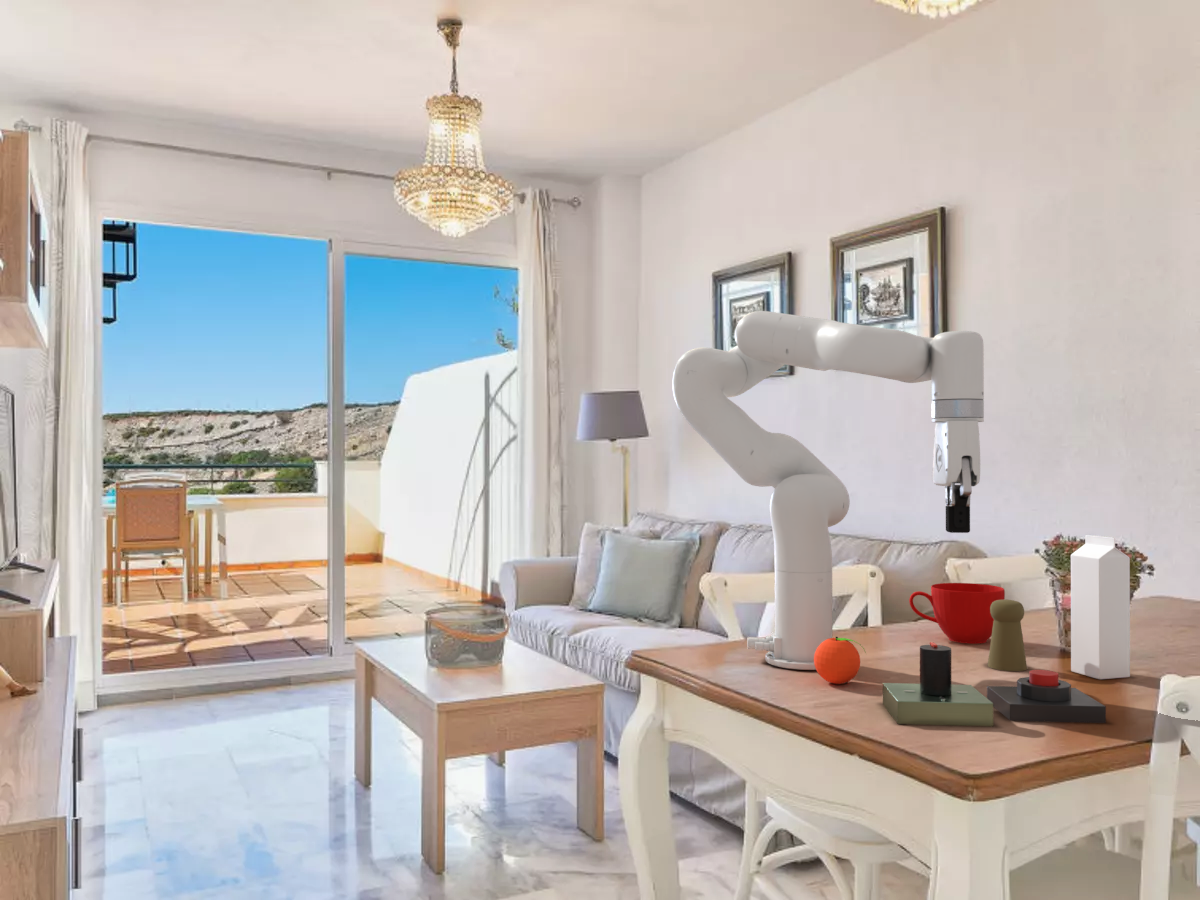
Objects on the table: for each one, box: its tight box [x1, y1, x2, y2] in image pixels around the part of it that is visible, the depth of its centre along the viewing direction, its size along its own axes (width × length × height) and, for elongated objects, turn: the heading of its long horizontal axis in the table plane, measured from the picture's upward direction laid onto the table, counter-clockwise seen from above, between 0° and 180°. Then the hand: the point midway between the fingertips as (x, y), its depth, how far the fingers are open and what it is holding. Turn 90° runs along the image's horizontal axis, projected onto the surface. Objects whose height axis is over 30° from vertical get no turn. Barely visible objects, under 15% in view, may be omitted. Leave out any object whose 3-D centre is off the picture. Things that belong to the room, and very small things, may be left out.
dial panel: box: [882, 682, 994, 727], centre depth 128 cm, size 12×10×3 cm
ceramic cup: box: [908, 582, 1006, 645], centre depth 180 cm, size 13×17×10 cm
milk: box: [1070, 534, 1131, 680], centre depth 152 cm, size 6×6×22 cm
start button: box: [1028, 669, 1059, 686], centre depth 130 cm, size 4×4×2 cm
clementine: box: [814, 636, 867, 685], centre depth 146 cm, size 8×7×7 cm
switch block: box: [986, 676, 1107, 724], centre depth 129 cm, size 12×10×4 cm
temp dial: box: [919, 641, 952, 696], centre depth 128 cm, size 4×4×6 cm
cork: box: [987, 598, 1028, 672], centre depth 157 cm, size 6×6×11 cm
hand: (957, 532), depth 146 cm, fingers closed
